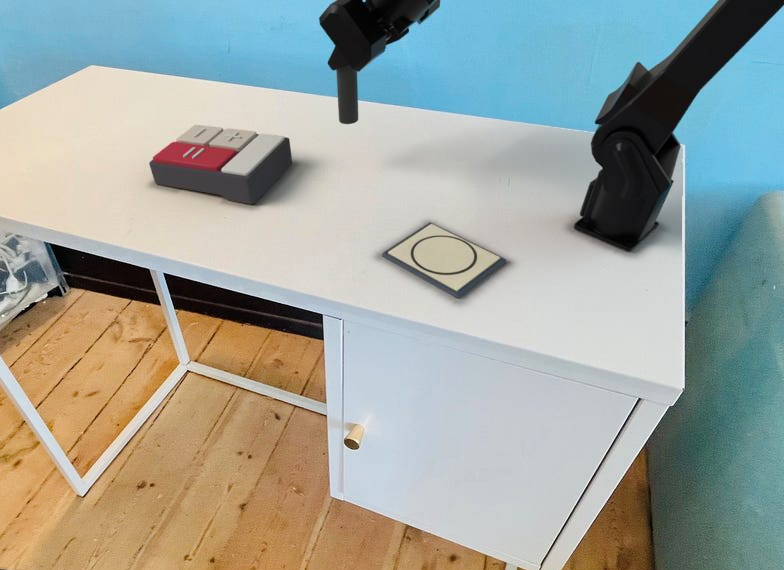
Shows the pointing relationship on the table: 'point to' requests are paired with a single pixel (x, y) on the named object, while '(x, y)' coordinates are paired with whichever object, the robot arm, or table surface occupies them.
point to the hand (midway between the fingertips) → (336, 62)
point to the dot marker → (347, 95)
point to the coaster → (444, 259)
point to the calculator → (223, 162)
